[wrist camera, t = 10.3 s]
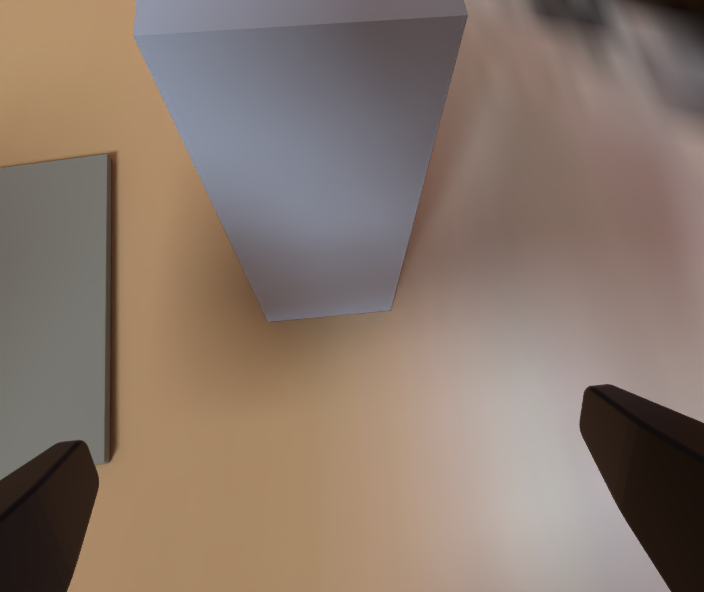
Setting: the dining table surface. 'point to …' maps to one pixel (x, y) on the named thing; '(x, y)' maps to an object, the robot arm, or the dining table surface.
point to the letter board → (55, 308)
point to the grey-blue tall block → (308, 133)
